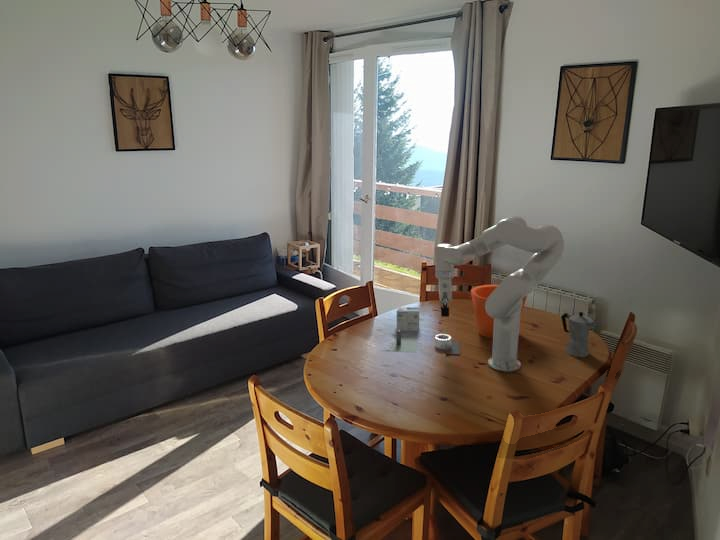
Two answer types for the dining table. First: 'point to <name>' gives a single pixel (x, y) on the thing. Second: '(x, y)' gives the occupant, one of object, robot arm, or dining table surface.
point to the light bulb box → (408, 318)
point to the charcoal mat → (453, 348)
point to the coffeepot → (578, 334)
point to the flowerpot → (482, 317)
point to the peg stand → (404, 344)
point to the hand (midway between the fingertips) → (444, 312)
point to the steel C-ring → (443, 341)
